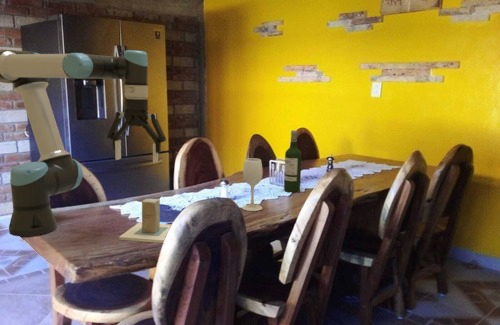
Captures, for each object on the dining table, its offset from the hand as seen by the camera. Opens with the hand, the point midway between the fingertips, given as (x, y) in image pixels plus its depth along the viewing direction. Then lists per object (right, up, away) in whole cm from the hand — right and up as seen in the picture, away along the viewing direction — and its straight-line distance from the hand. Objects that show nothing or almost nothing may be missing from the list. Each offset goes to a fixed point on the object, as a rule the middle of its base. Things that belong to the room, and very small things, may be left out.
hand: (136, 160), depth 150 cm
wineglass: (+40, -20, +35) cm, 57 cm away
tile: (+4, -25, +2) cm, 26 cm away
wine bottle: (+60, -15, +67) cm, 91 cm away
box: (+5, -25, +2) cm, 25 cm away
